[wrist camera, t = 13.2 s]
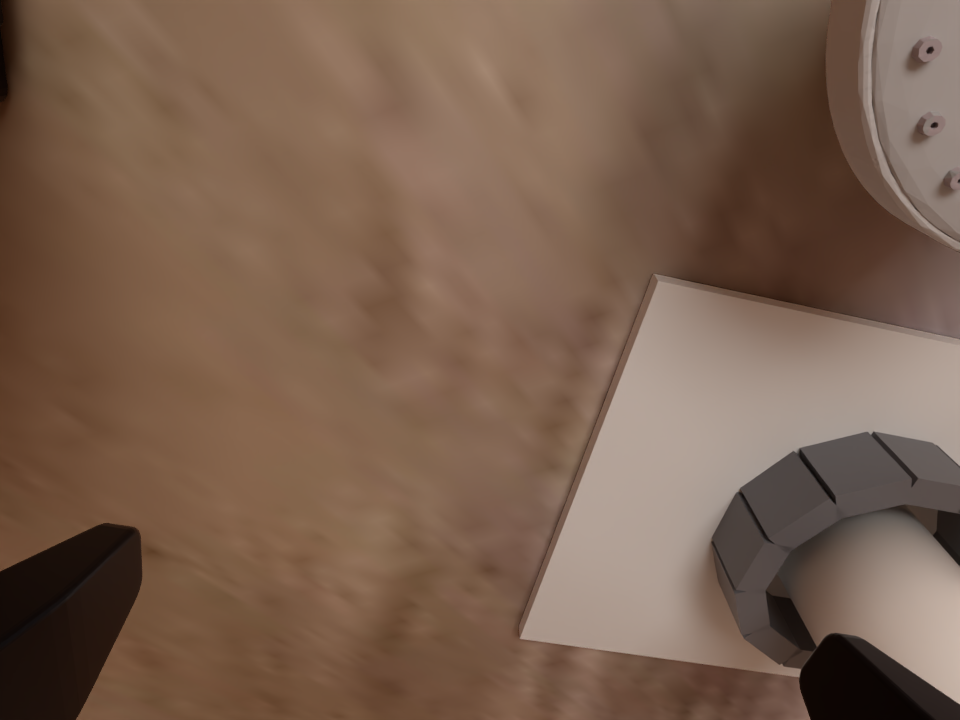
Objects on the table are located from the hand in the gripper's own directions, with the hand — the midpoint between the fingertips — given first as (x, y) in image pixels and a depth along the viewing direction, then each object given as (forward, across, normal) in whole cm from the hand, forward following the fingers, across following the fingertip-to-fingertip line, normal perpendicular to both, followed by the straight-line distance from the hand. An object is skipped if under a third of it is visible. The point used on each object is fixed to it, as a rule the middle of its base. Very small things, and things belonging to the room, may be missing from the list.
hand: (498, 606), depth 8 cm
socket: (+12, +15, -7) cm, 20 cm away
